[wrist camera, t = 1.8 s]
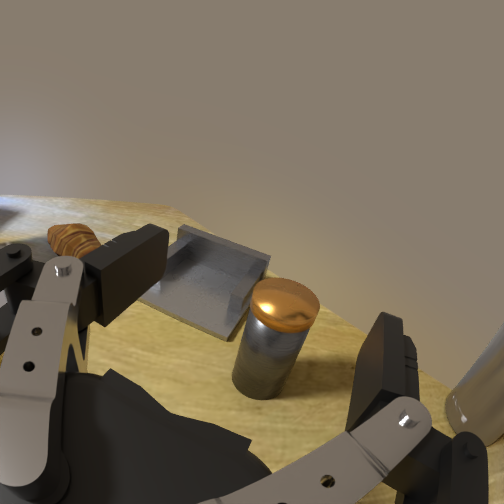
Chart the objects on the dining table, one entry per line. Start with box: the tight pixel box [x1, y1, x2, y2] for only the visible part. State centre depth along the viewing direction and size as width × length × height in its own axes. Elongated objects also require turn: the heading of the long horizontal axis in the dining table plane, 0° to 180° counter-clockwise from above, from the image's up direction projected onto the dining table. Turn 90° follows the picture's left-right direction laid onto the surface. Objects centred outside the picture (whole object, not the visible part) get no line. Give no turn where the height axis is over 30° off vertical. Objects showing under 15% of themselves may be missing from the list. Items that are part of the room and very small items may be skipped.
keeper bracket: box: [137, 224, 271, 341], centre depth 38 cm, size 12×12×5 cm
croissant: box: [48, 223, 101, 259], centre depth 38 cm, size 14×7×5 cm, turn 63°
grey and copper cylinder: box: [232, 278, 320, 400], centre depth 27 cm, size 5×5×10 cm
